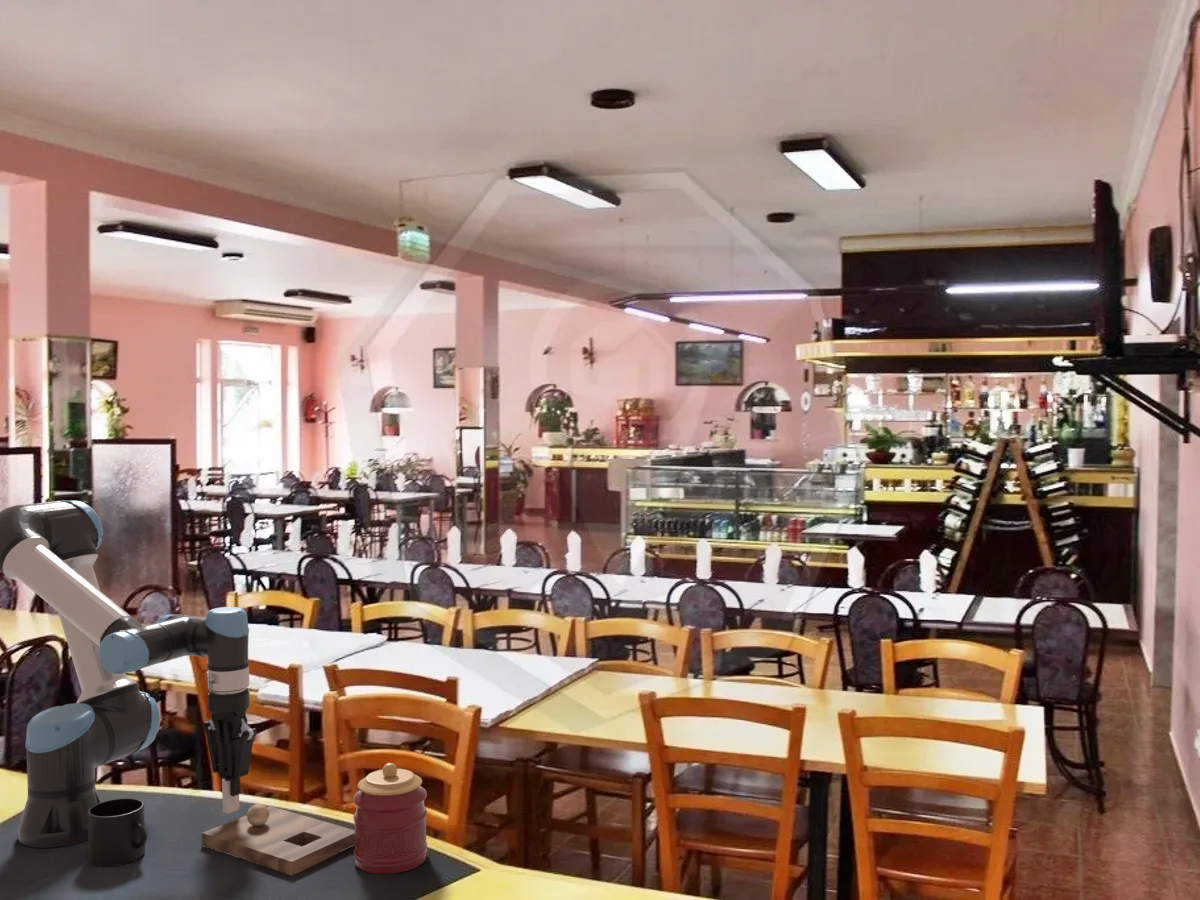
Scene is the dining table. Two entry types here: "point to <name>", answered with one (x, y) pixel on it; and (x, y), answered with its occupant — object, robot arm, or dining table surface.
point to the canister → (390, 821)
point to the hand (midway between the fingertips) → (231, 810)
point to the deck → (280, 840)
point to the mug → (116, 832)
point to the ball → (258, 815)
